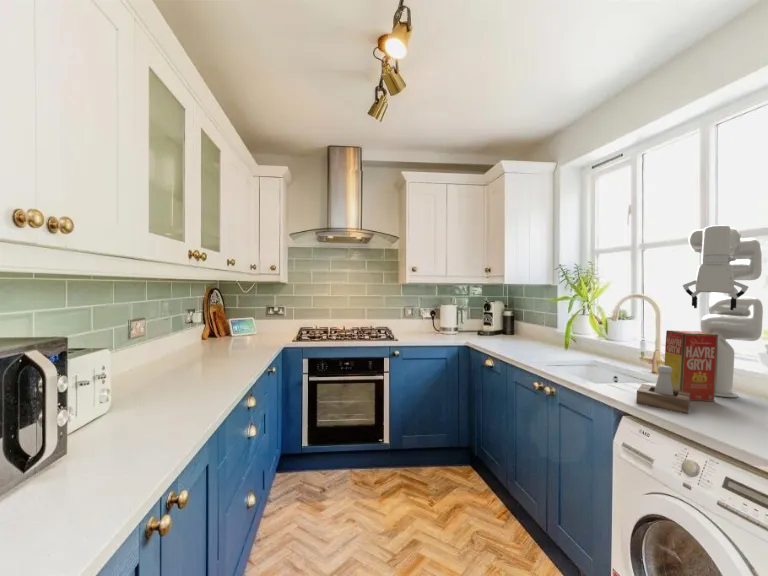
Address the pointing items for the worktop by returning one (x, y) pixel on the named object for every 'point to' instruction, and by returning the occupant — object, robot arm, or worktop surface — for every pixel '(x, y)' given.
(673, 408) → the socket block
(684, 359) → the food packaging
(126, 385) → the worktop surface
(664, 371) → the salt shaker
